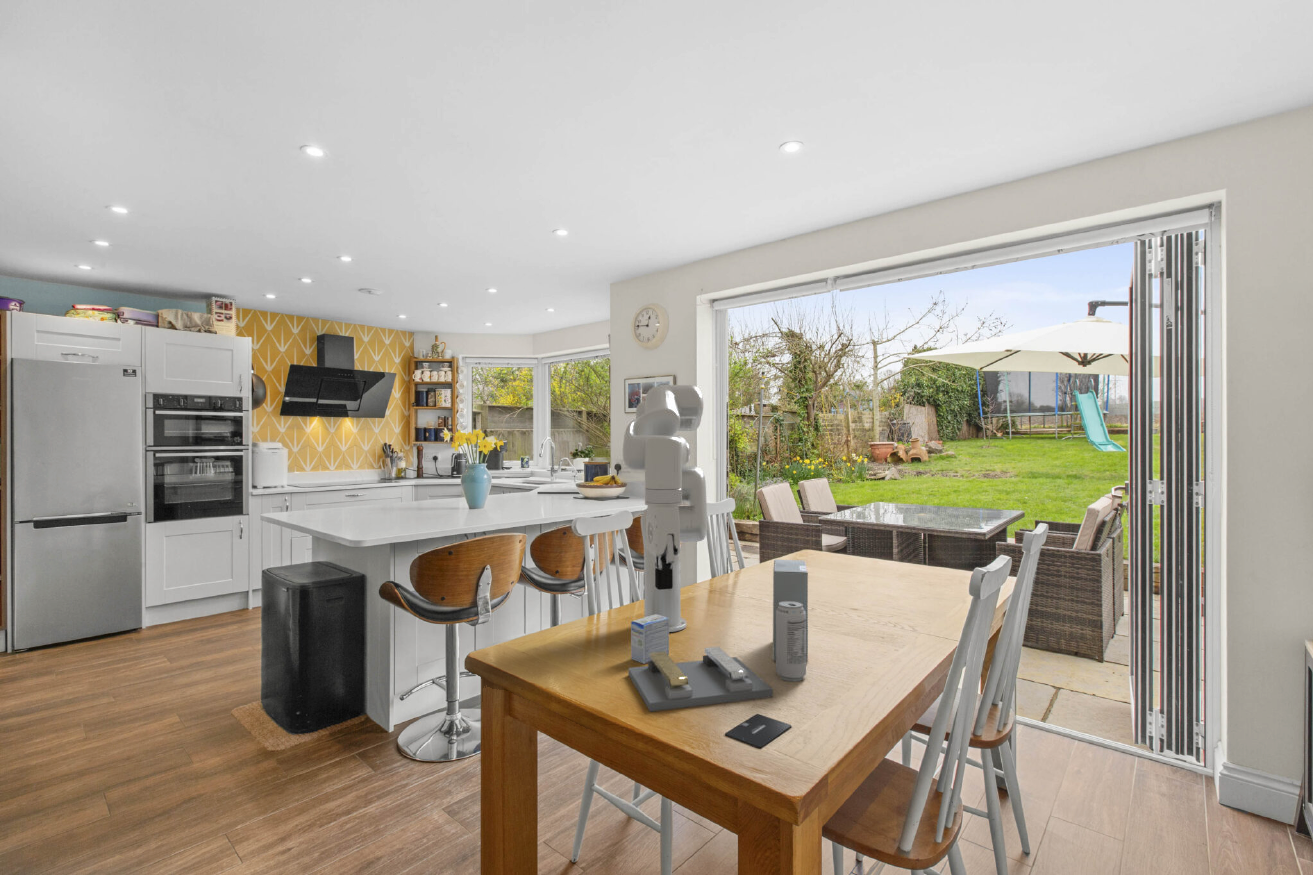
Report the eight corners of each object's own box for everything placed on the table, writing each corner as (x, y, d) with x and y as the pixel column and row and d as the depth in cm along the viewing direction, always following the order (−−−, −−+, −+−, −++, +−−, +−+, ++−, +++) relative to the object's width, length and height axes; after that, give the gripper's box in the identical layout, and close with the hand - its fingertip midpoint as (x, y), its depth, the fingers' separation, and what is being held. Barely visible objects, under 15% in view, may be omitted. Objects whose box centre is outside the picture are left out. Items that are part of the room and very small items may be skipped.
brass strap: (688, 686, 113) (688, 677, 113) (671, 688, 112) (671, 679, 112) (664, 657, 128) (664, 649, 128) (650, 659, 128) (650, 651, 128)
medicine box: (655, 651, 142) (655, 613, 142) (669, 655, 139) (669, 617, 139) (630, 659, 137) (630, 620, 137) (644, 664, 133) (644, 624, 134)
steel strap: (748, 679, 116) (748, 671, 116) (732, 681, 115) (732, 673, 115) (718, 652, 131) (718, 645, 132) (704, 653, 131) (704, 646, 131)
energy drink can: (795, 669, 130) (795, 599, 130) (812, 680, 124) (811, 605, 124) (770, 673, 128) (770, 601, 128) (786, 684, 122) (786, 608, 122)
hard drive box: (808, 664, 133) (808, 572, 133) (772, 662, 134) (772, 571, 135) (805, 641, 148) (805, 559, 148) (773, 640, 150) (773, 558, 150)
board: (628, 675, 127) (628, 661, 127) (736, 663, 134) (736, 650, 134) (650, 711, 110) (650, 695, 110) (772, 696, 116) (772, 681, 116)
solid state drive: (724, 737, 101) (724, 733, 101) (757, 717, 108) (757, 713, 108) (760, 751, 96) (760, 747, 96) (792, 729, 104) (792, 725, 104)
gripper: (636, 494, 130) (637, 581, 130) (654, 501, 115) (655, 599, 115) (670, 493, 132) (671, 579, 132) (692, 500, 117) (693, 596, 117)
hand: (663, 588), depth 124 cm, fingers closed
